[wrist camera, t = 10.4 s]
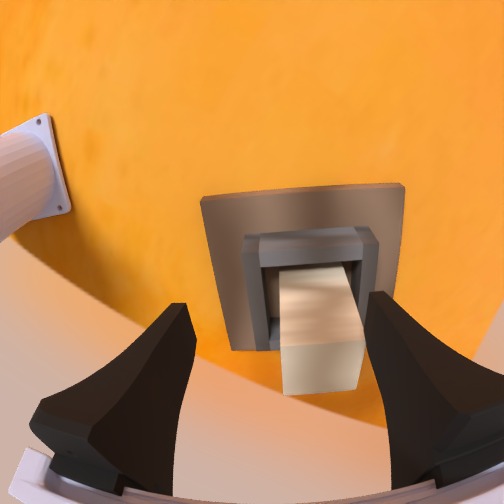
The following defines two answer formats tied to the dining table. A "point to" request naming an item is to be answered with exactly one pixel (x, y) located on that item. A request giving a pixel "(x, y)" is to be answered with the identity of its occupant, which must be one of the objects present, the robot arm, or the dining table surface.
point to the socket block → (298, 248)
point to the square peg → (319, 330)
